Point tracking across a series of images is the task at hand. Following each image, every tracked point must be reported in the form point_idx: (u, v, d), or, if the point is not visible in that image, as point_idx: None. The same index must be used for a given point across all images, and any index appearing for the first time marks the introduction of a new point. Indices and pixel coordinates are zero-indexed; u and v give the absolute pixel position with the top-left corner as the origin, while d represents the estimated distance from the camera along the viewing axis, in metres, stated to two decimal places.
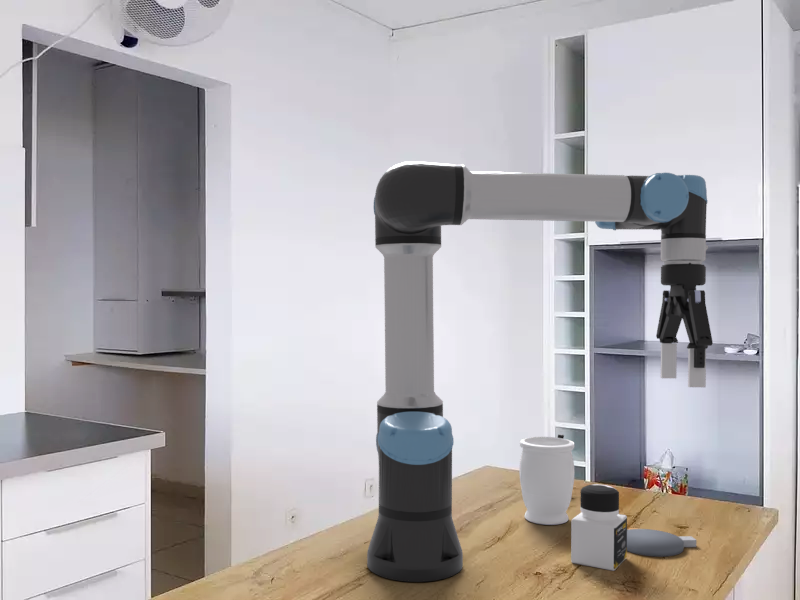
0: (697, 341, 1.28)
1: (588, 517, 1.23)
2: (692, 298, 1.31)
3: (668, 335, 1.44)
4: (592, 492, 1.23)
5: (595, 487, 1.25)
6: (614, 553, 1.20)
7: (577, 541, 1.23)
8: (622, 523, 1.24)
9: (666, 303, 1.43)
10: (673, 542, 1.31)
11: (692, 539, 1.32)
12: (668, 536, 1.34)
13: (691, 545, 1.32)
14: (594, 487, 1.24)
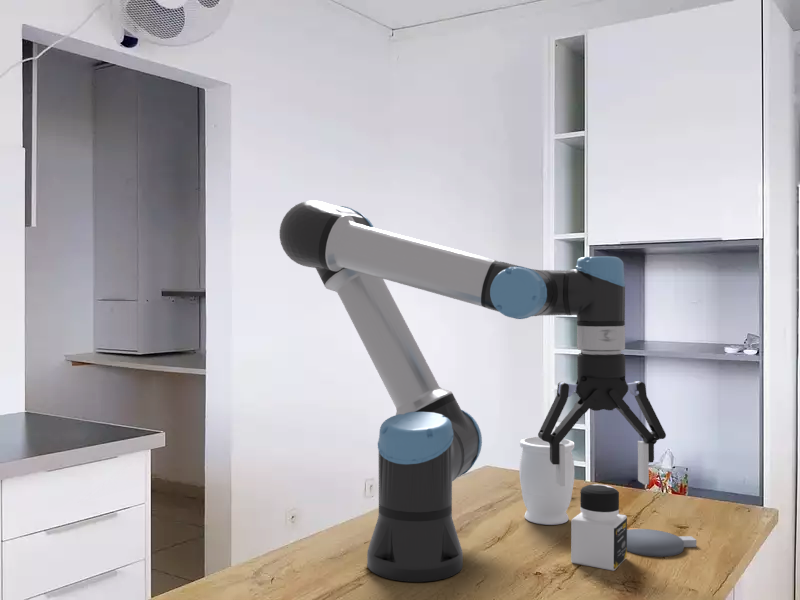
0: None
1: (588, 517, 1.23)
2: (557, 390, 1.25)
3: (638, 432, 1.25)
4: (592, 492, 1.23)
5: (595, 487, 1.25)
6: (614, 553, 1.20)
7: (577, 541, 1.23)
8: (622, 523, 1.24)
9: (635, 395, 1.26)
10: (673, 542, 1.31)
11: (692, 539, 1.32)
12: (668, 536, 1.34)
13: (691, 545, 1.32)
14: (594, 487, 1.24)
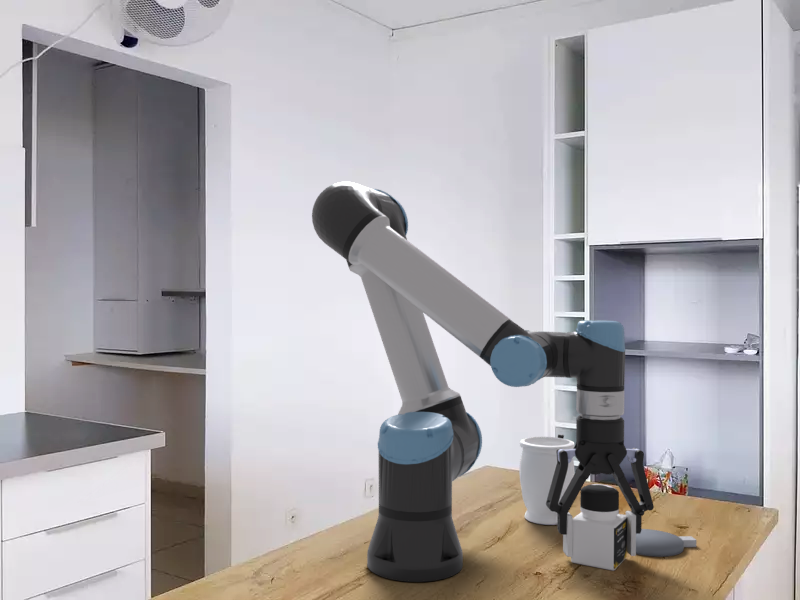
0: None
1: (588, 517, 1.23)
2: (557, 457, 1.25)
3: (627, 501, 1.25)
4: (592, 492, 1.23)
5: (595, 486, 1.25)
6: (614, 553, 1.20)
7: (577, 541, 1.23)
8: (622, 523, 1.24)
9: (631, 462, 1.26)
10: (673, 542, 1.31)
11: (692, 539, 1.32)
12: (668, 536, 1.34)
13: (691, 545, 1.32)
14: (594, 487, 1.24)
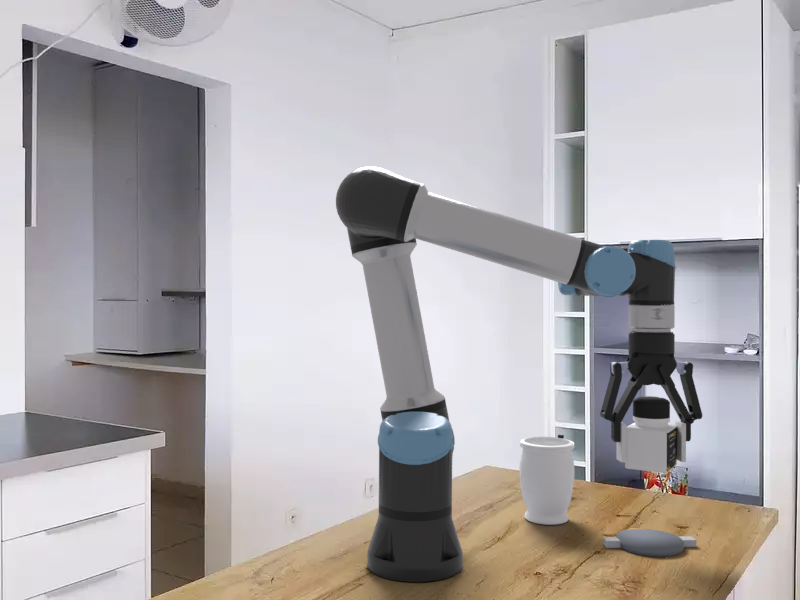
0: None
1: (641, 425, 1.31)
2: (610, 370, 1.33)
3: (677, 411, 1.33)
4: (645, 401, 1.30)
5: (647, 397, 1.32)
6: (667, 456, 1.28)
7: (631, 447, 1.30)
8: (673, 430, 1.31)
9: (680, 374, 1.33)
10: (673, 542, 1.31)
11: (692, 539, 1.32)
12: (668, 536, 1.34)
13: (691, 545, 1.32)
14: (646, 397, 1.32)
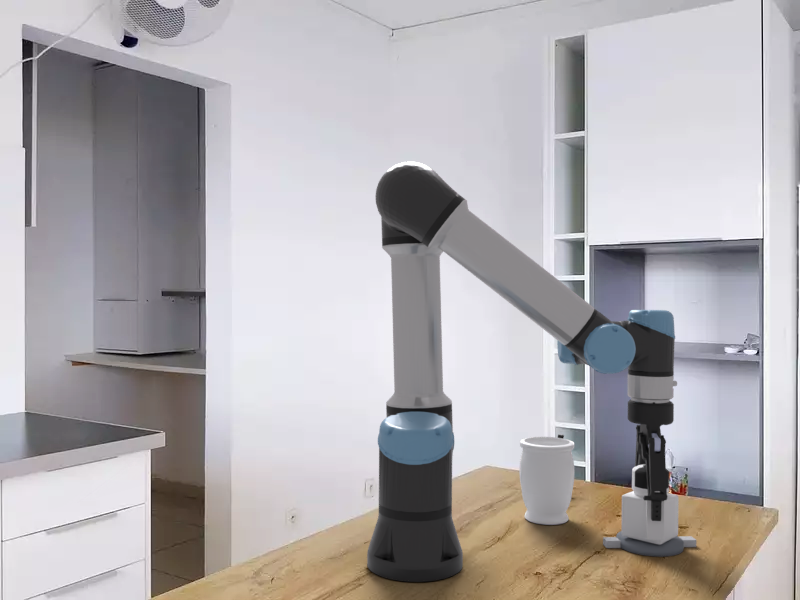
0: (651, 496, 1.24)
1: None
2: (651, 447, 1.26)
3: None
4: None
5: None
6: (677, 519, 1.33)
7: None
8: None
9: None
10: (673, 542, 1.31)
11: (692, 539, 1.32)
12: None
13: (691, 545, 1.32)
14: None
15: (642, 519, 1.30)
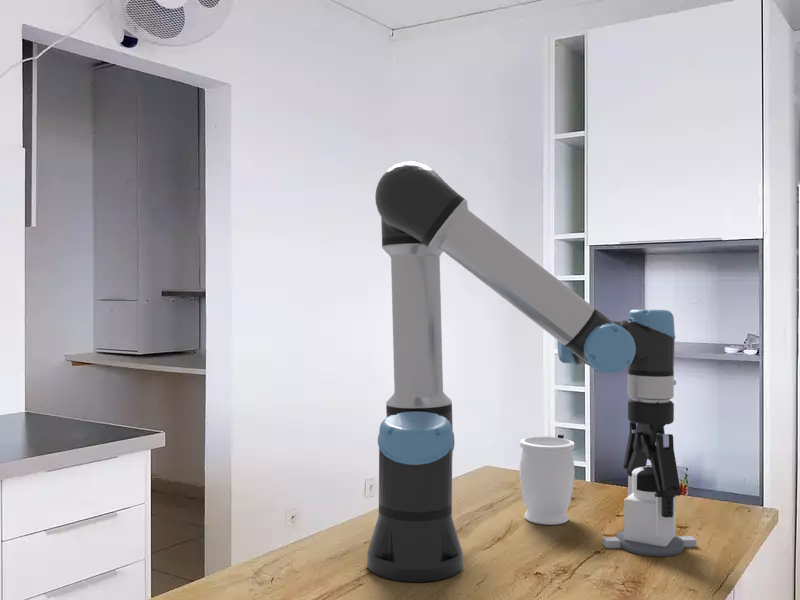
0: (665, 492, 1.23)
1: None
2: (660, 443, 1.25)
3: (635, 468, 1.39)
4: None
5: (652, 469, 1.32)
6: None
7: None
8: None
9: (633, 435, 1.38)
10: (673, 542, 1.31)
11: (692, 539, 1.32)
12: None
13: (691, 545, 1.32)
14: None
15: (646, 522, 1.29)
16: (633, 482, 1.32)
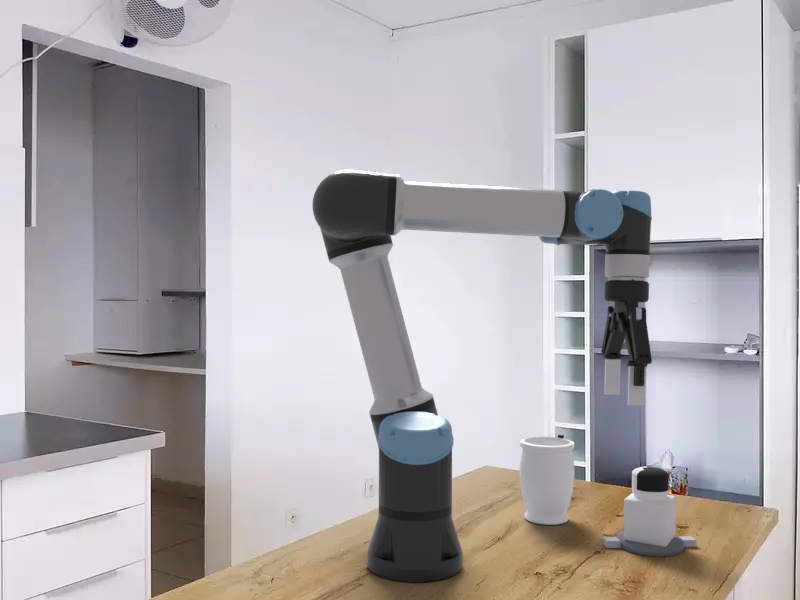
0: (636, 359, 1.26)
1: (663, 498, 1.30)
2: (633, 315, 1.29)
3: (612, 351, 1.43)
4: (665, 473, 1.31)
5: (652, 469, 1.32)
6: None
7: (668, 524, 1.29)
8: None
9: (611, 319, 1.42)
10: (673, 542, 1.31)
11: (692, 539, 1.32)
12: None
13: (691, 545, 1.32)
14: (656, 470, 1.31)
15: (646, 522, 1.29)
16: (633, 482, 1.32)
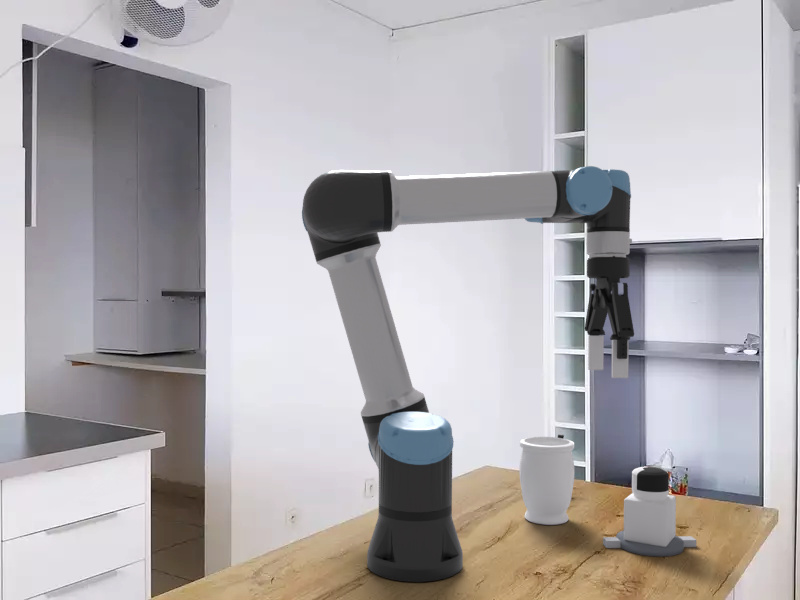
0: (619, 332, 1.30)
1: (663, 498, 1.30)
2: (615, 290, 1.33)
3: (595, 327, 1.46)
4: (665, 473, 1.31)
5: (652, 469, 1.32)
6: None
7: (668, 524, 1.29)
8: None
9: (593, 296, 1.46)
10: (673, 542, 1.31)
11: (692, 539, 1.32)
12: None
13: (691, 545, 1.32)
14: (656, 470, 1.31)
15: (646, 522, 1.29)
16: (633, 482, 1.32)
